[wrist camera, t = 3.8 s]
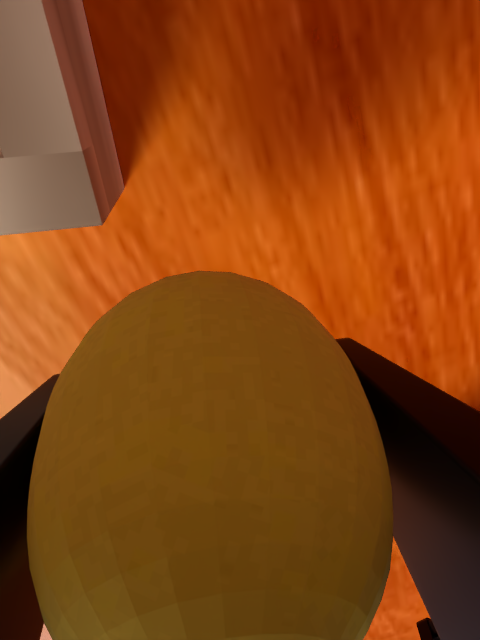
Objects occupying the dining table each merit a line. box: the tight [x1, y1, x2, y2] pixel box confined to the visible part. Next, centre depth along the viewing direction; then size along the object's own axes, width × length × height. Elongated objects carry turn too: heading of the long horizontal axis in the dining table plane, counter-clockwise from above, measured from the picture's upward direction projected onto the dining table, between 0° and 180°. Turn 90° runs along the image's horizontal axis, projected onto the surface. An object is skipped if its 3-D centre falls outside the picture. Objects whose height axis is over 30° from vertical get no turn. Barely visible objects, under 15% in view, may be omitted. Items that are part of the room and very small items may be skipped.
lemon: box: [27, 271, 393, 640], centre depth 7 cm, size 6×6×8 cm
